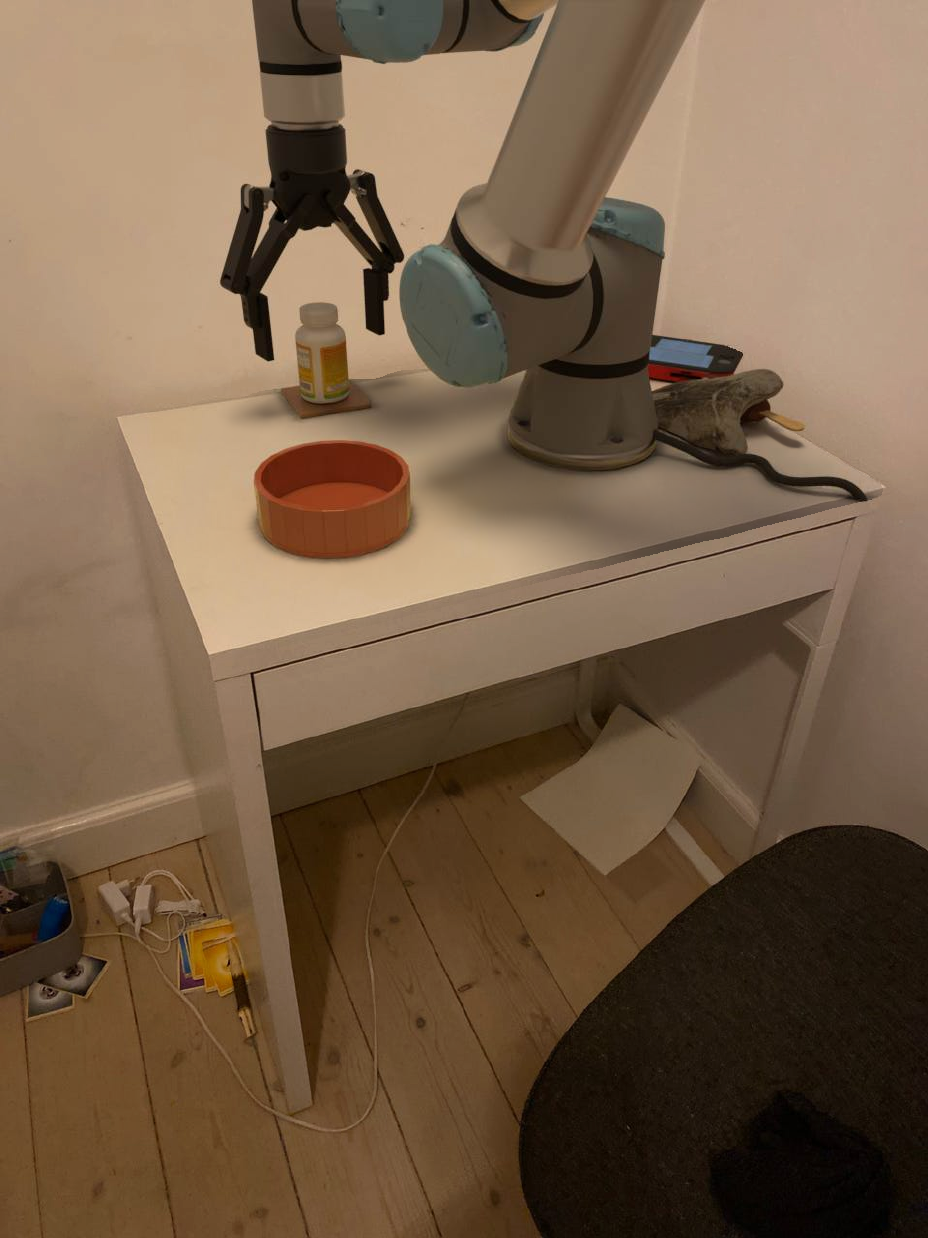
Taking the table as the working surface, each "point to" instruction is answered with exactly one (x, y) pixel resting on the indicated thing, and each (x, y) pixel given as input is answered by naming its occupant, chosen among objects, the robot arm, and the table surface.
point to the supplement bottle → (321, 354)
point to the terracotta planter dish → (333, 498)
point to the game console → (690, 359)
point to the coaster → (313, 409)
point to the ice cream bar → (765, 414)
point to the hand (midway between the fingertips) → (322, 344)
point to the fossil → (714, 407)
